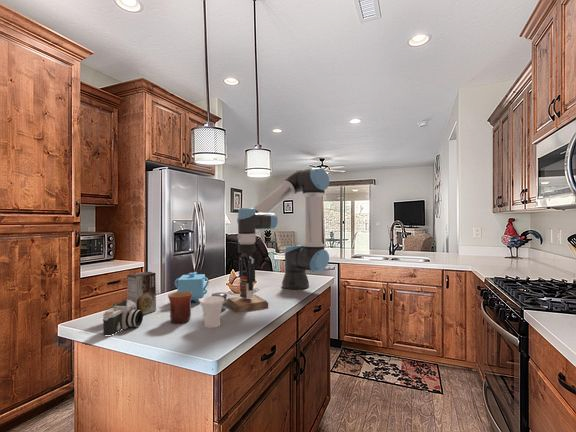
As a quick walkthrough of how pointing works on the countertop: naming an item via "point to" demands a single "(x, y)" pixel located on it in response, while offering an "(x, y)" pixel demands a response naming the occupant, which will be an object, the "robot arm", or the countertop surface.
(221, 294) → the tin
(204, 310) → the cup
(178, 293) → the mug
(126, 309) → the camera
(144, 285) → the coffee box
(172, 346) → the countertop surface
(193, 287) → the teapot
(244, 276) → the supplement bottle
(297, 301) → the countertop surface
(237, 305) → the stand
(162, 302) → the countertop surface
